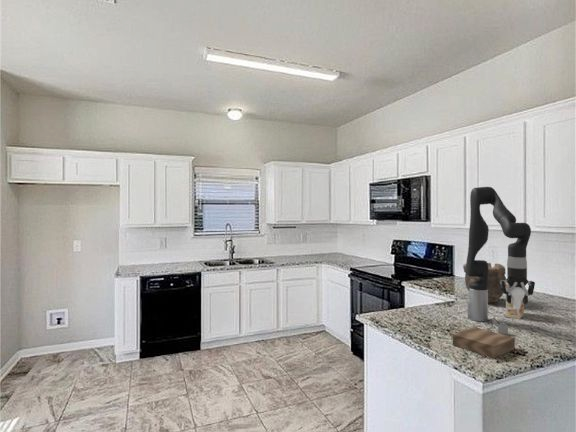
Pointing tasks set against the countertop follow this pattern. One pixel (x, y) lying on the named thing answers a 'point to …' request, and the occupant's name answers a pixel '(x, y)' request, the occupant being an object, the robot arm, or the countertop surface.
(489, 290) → the clay pot
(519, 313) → the coffeecake box
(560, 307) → the countertop surface
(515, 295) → the lightbulb
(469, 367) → the countertop surface
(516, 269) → the robot arm
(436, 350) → the countertop surface
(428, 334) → the countertop surface
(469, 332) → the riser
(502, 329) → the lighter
